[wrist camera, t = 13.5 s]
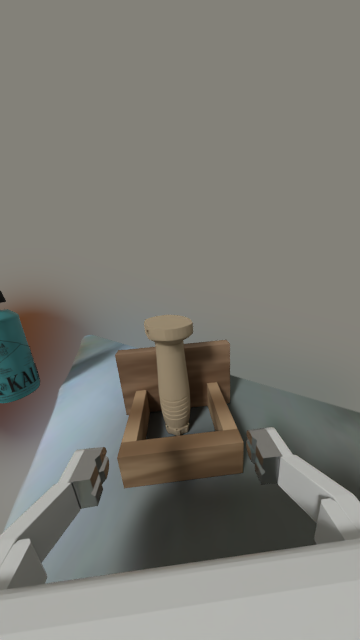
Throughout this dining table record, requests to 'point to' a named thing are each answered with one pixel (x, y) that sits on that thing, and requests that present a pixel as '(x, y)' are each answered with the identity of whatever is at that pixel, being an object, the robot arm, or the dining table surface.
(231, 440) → the wooden drawer
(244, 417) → the dining table surface
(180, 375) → the handle
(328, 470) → the dining table surface
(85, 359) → the dining table surface
